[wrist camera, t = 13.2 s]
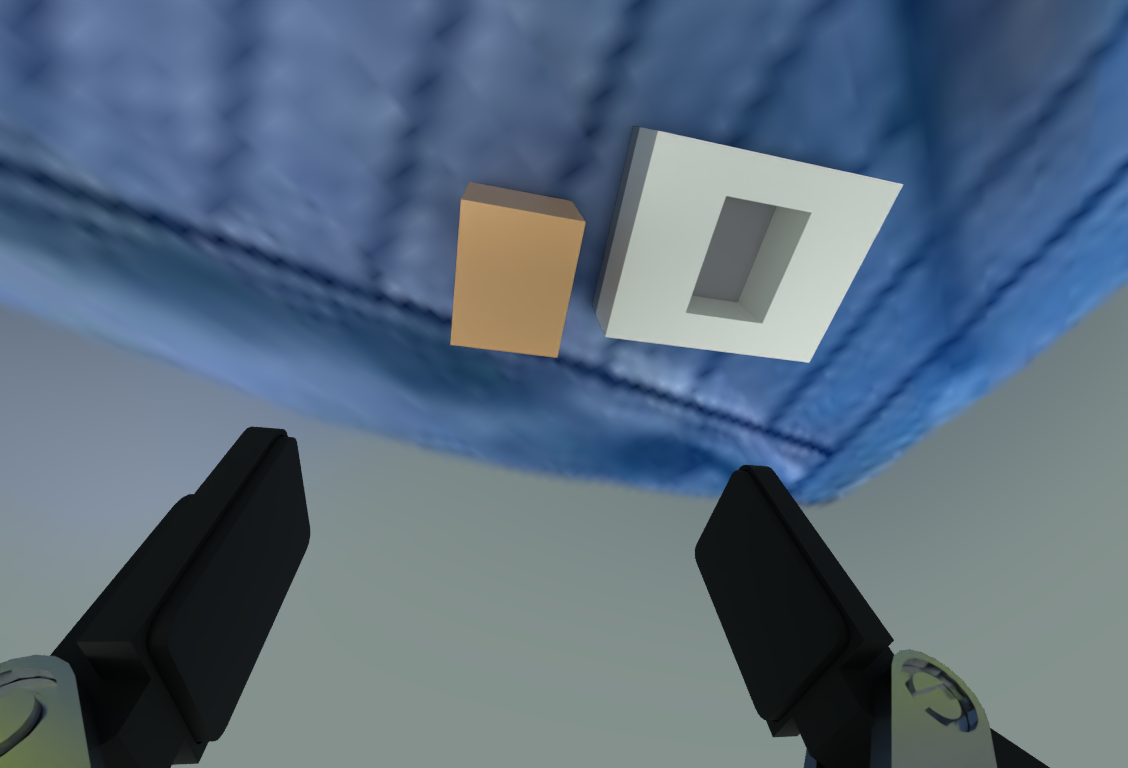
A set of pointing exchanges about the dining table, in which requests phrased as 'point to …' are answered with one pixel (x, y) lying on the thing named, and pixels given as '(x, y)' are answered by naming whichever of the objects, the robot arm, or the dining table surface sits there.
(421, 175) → the dining table surface
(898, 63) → the dining table surface
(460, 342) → the plug
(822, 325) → the socket block
